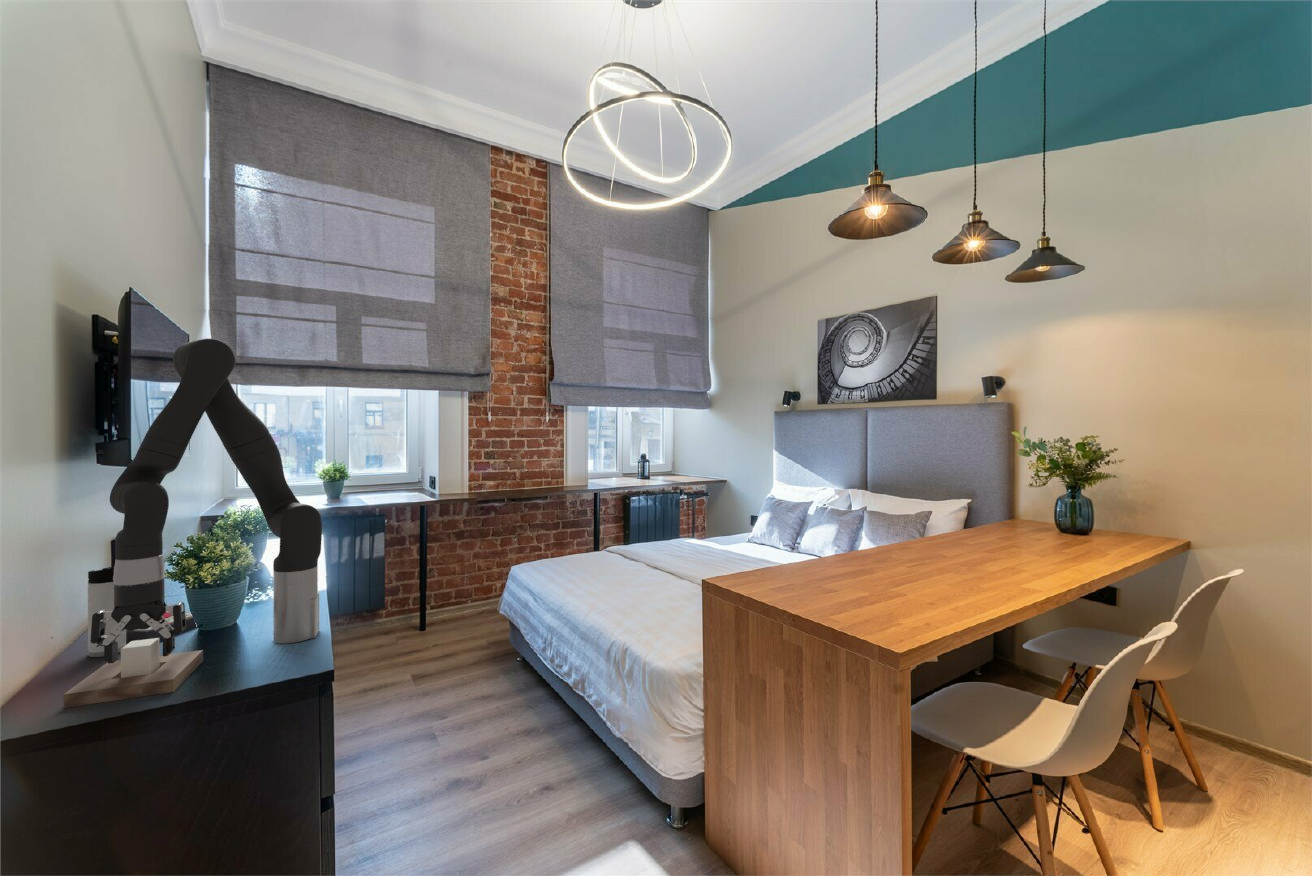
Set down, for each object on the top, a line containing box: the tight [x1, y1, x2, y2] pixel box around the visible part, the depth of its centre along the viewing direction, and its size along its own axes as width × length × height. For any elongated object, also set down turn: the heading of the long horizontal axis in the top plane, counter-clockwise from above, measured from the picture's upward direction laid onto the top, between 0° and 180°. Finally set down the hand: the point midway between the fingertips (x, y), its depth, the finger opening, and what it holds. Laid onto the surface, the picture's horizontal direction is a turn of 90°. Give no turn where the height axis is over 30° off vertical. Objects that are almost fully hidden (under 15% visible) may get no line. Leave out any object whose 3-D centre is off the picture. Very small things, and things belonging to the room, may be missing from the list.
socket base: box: [63, 649, 204, 709], centre depth 112 cm, size 16×16×2 cm
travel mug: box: [87, 566, 126, 658], centre depth 127 cm, size 6×7×20 cm
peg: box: [120, 638, 161, 678], centre depth 112 cm, size 4×4×8 cm
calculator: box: [126, 611, 197, 645], centre depth 139 cm, size 11×4×15 cm
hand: (140, 658), depth 112 cm, fingers open, 8 cm apart
